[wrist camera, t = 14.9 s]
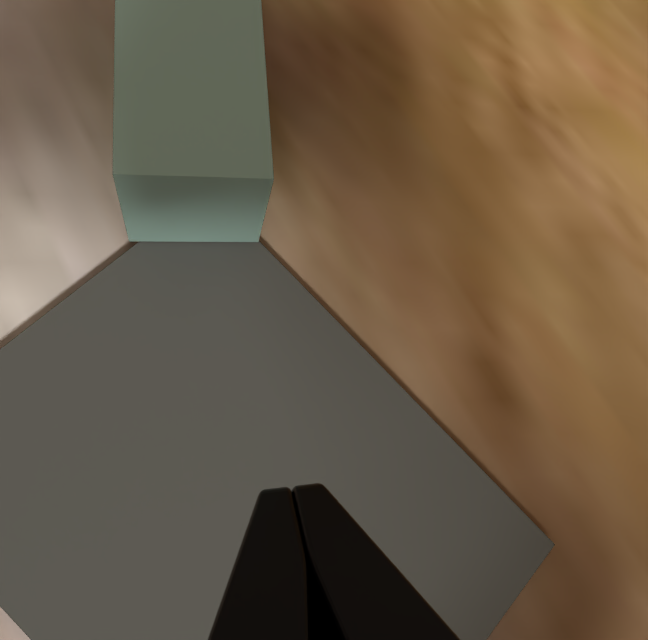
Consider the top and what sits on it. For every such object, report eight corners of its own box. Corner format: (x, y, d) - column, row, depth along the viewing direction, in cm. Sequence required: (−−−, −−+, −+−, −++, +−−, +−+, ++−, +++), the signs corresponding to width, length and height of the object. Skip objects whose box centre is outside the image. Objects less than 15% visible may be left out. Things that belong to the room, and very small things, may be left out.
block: (273, 178, 17) (251, -137, 21) (112, 173, 16) (117, -157, 20) (258, 242, 22) (241, -30, 25) (129, 241, 21) (130, -41, 24)
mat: (284, 906, 17) (286, 916, 17) (-132, 456, 18) (-139, 456, 17) (548, 543, 22) (555, 544, 21) (207, 193, 22) (208, 188, 22)
